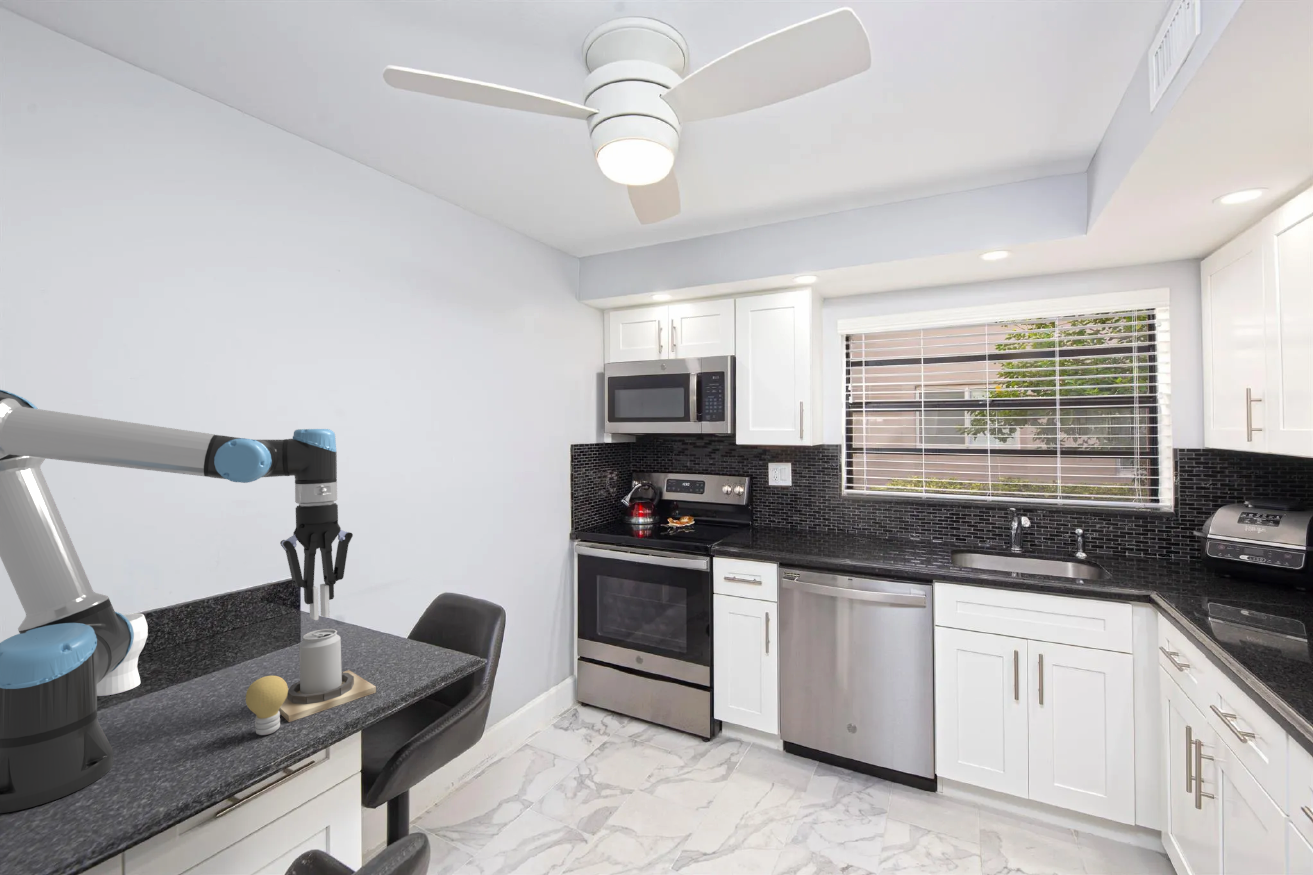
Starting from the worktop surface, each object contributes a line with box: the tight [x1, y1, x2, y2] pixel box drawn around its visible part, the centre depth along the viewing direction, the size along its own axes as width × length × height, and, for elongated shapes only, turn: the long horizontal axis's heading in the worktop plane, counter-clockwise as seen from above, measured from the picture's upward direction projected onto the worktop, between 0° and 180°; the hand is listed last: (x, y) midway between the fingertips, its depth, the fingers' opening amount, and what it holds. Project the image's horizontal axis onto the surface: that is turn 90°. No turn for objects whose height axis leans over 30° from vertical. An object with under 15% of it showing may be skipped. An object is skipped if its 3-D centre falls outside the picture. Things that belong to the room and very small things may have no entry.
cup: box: [97, 612, 149, 697], centre depth 126 cm, size 11×11×15 cm
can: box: [298, 628, 343, 694], centre depth 119 cm, size 8×8×12 cm
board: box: [278, 669, 377, 723], centre depth 119 cm, size 16×14×3 cm
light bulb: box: [245, 675, 289, 736], centre depth 105 cm, size 6×6×10 cm
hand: (319, 617), depth 119 cm, fingers closed
